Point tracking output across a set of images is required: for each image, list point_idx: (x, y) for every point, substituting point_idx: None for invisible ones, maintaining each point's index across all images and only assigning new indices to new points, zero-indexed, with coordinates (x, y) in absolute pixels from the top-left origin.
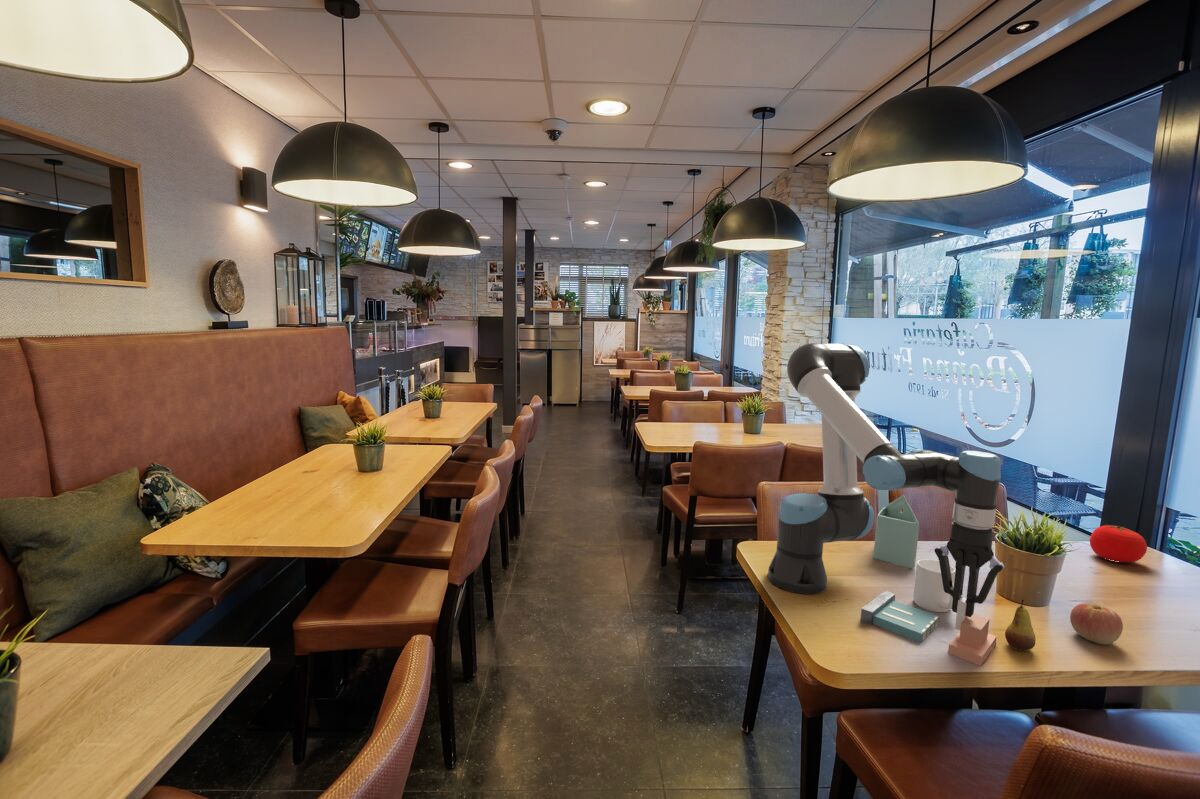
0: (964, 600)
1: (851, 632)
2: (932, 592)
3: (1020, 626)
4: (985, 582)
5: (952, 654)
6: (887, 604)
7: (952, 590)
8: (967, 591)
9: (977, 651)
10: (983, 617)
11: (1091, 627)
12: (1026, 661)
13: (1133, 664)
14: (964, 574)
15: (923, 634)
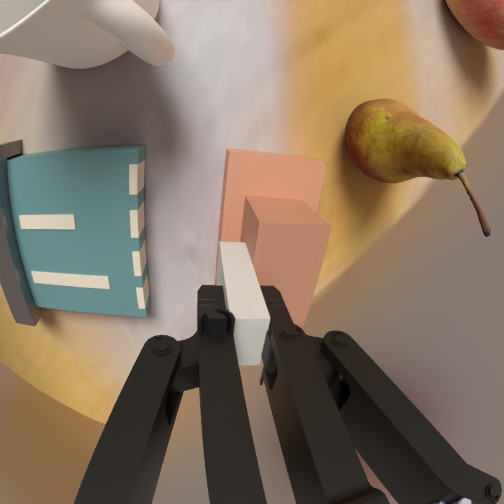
0: (250, 349)
1: (56, 350)
2: (72, 53)
3: (410, 177)
4: (372, 461)
5: None
6: (11, 210)
7: (192, 387)
8: (273, 411)
9: None
10: (310, 230)
11: (491, 39)
12: (375, 202)
13: (494, 87)
14: (256, 458)
15: (146, 302)
